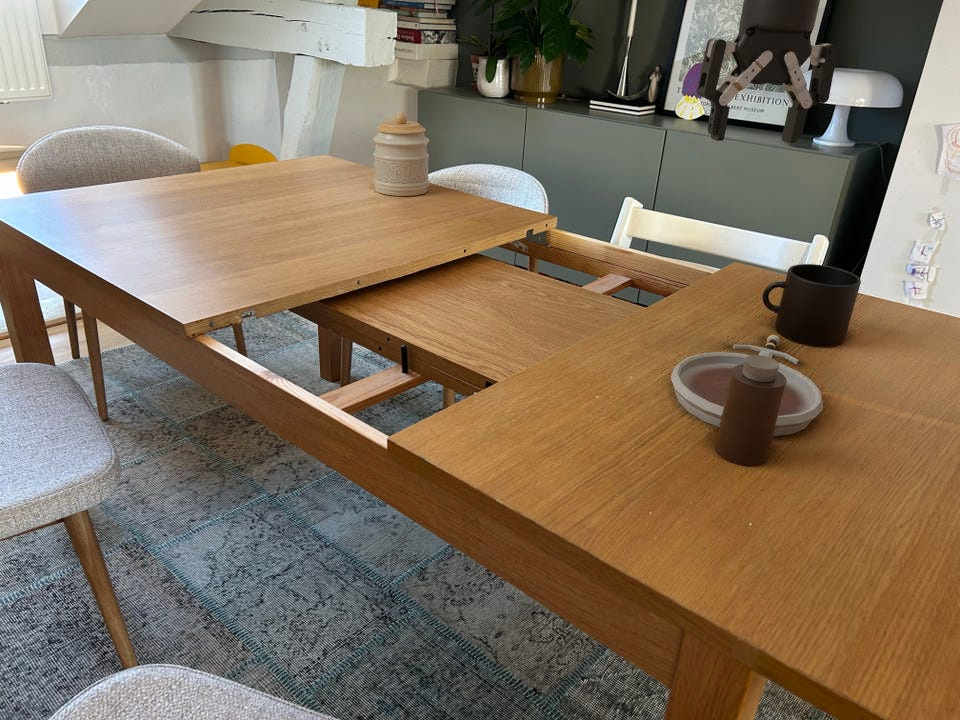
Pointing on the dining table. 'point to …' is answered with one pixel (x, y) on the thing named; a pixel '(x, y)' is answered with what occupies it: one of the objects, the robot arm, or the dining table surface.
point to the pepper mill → (750, 411)
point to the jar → (401, 158)
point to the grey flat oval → (708, 380)
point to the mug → (815, 304)
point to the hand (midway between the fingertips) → (753, 141)
